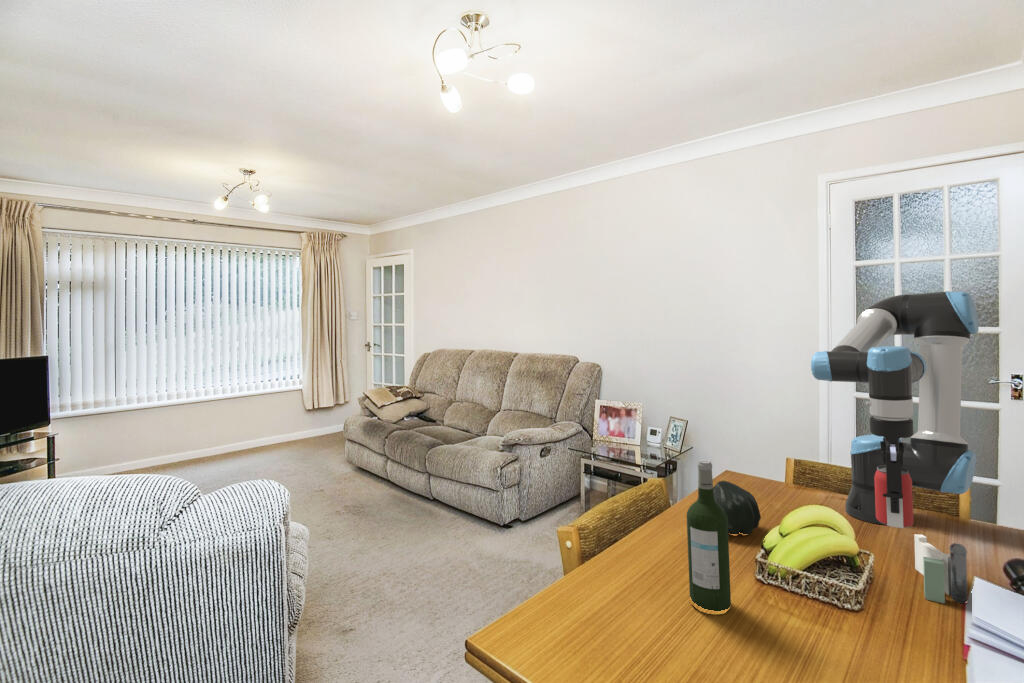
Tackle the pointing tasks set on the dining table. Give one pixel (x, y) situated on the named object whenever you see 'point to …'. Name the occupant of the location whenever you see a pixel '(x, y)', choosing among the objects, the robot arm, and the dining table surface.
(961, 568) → the hinge post
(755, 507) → the squash
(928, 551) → the gate
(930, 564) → the block
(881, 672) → the dining table surface
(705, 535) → the wine bottle
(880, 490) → the beer can
